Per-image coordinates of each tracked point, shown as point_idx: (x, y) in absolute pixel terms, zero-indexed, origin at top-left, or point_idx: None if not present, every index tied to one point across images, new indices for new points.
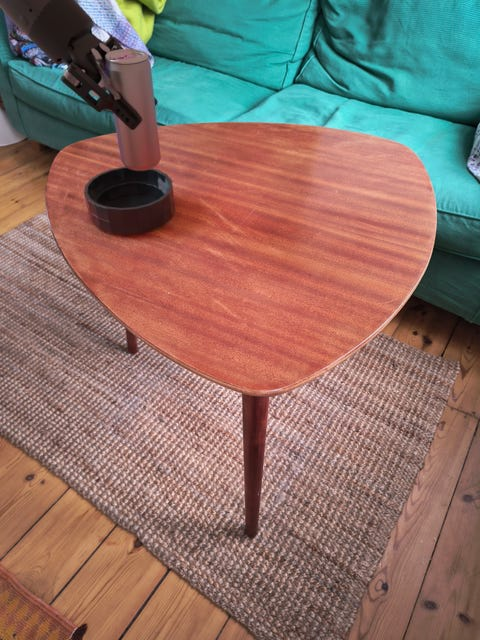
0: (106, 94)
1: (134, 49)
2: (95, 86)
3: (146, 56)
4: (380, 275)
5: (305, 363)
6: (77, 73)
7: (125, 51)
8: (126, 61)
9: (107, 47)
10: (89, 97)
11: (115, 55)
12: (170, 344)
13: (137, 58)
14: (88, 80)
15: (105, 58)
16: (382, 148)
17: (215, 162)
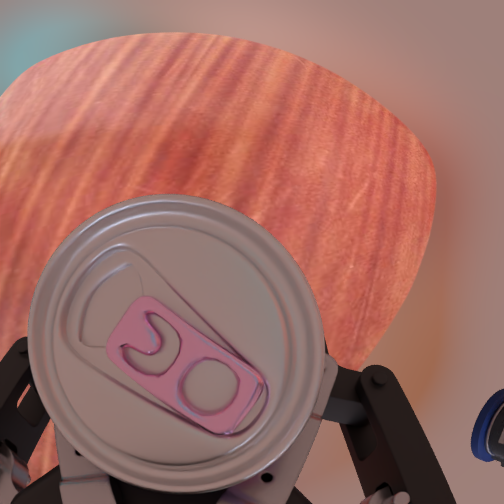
0: (385, 380)
1: (32, 325)
2: (405, 424)
3: (165, 196)
4: (263, 62)
5: (397, 127)
6: (449, 488)
7: (67, 383)
8: (312, 303)
9: (65, 497)
10: (370, 448)
11: (167, 434)
12: (419, 243)
13: (200, 253)
14: (418, 454)
15: (251, 477)
16: (22, 83)
17: (16, 270)
